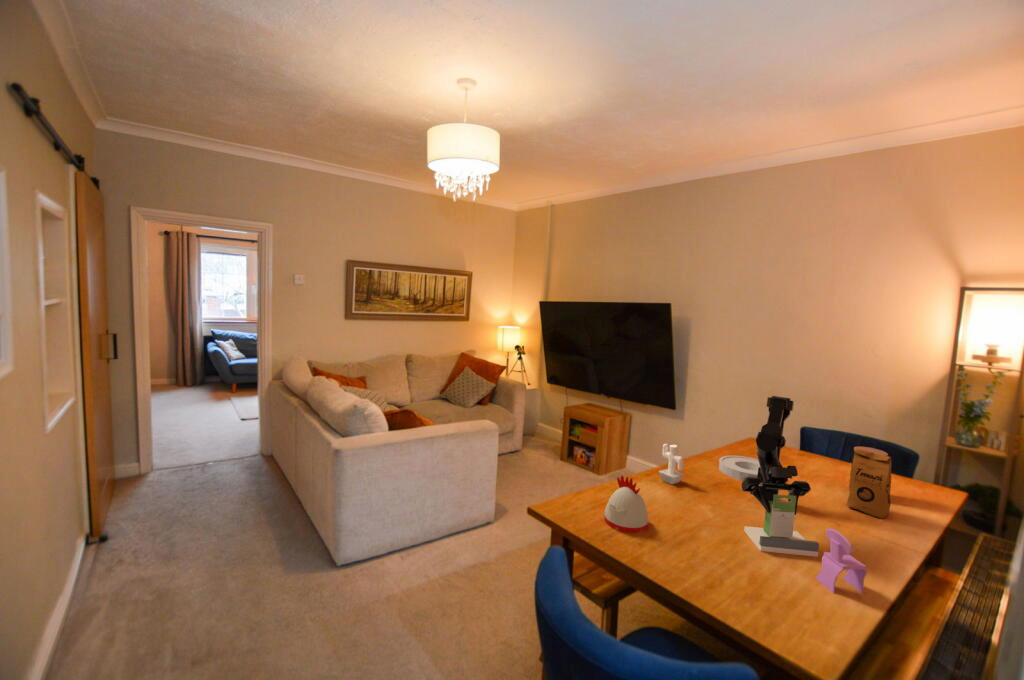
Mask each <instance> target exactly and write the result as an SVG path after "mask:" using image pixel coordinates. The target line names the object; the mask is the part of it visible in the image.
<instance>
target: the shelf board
mask: <svg viewBox="0 0 1024 680" xmlns="http://www.w3.org/2000/svg"><path fill="white" fill-rule="evenodd" d="M763 529H764V527H757V526H756V527H755V526H747V525H745V526H744V530H743V531H744V532H745V533H746V534H747V536H748V537H749V538H750V539H749V540H751V541H752V542H753V544H754V545H755V546H756V547H757V548H758V550H759V551H760V552H766V553H778V554H787V555H794V556H795V555H796V556H797V555H798V556H804V557H805V556H807V557H816V558H817V557H818V556H819V550H820V549H819V548H820V543H819V541H814V540H806V538H805V537H804V536H802V534H800V532H798V531H797V530H793V535H792V538H788V537H776V536H769V535H768V534H767V533H765V532H764V530H763Z"/></svg>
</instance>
